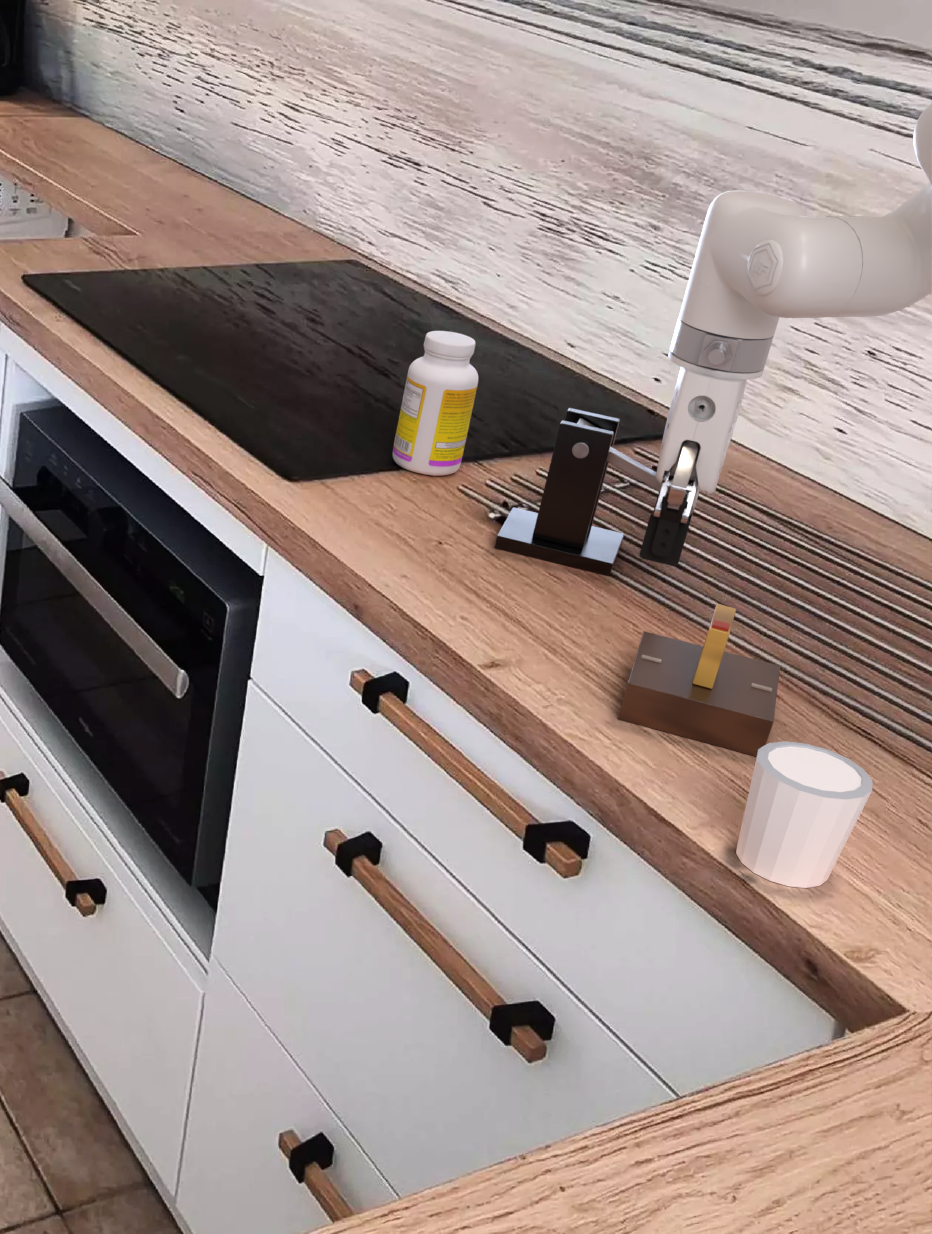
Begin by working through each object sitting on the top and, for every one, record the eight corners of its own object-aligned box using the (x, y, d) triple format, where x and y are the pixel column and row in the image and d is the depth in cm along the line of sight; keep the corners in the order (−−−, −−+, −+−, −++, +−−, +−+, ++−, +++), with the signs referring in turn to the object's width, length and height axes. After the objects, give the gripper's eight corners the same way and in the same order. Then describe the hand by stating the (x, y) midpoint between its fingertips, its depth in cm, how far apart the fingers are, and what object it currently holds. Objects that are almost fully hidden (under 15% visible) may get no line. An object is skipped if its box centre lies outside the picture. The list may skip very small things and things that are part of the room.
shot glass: (801, 831, 114) (833, 739, 111) (860, 893, 108) (897, 797, 105) (705, 832, 112) (736, 739, 109) (760, 894, 106) (794, 797, 103)
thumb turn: (699, 657, 129) (717, 600, 127) (719, 662, 129) (737, 605, 126) (692, 683, 125) (710, 624, 123) (712, 689, 124) (730, 630, 122)
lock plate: (768, 700, 131) (781, 663, 129) (761, 758, 122) (774, 719, 121) (633, 665, 134) (644, 628, 132) (617, 719, 126) (628, 680, 124)
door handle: (690, 505, 151) (706, 483, 149) (684, 524, 146) (701, 501, 145) (567, 435, 153) (582, 413, 151) (559, 452, 148) (574, 428, 147)
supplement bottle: (467, 464, 171) (495, 338, 165) (448, 483, 166) (476, 353, 160) (402, 448, 174) (427, 322, 168) (381, 466, 168) (407, 337, 162)
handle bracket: (621, 545, 156) (655, 421, 151) (609, 576, 149) (644, 447, 144) (510, 519, 159) (539, 396, 154) (494, 548, 152) (524, 420, 147)
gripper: (761, 384, 134) (699, 591, 142) (772, 333, 148) (715, 523, 156) (661, 364, 136) (606, 568, 144) (682, 315, 151) (630, 503, 159)
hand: (663, 544), depth 150 cm, fingers open, 7 cm apart
